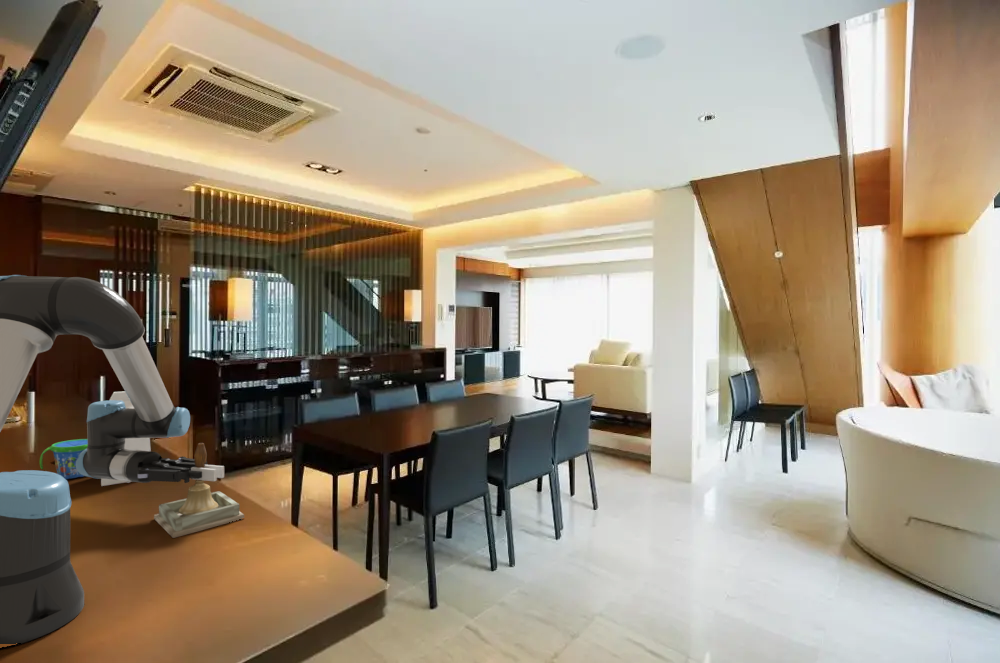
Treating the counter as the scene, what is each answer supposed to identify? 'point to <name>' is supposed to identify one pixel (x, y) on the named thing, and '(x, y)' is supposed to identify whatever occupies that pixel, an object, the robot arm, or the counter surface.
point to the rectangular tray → (197, 516)
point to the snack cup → (66, 457)
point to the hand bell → (199, 489)
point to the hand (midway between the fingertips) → (219, 473)
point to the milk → (130, 443)
